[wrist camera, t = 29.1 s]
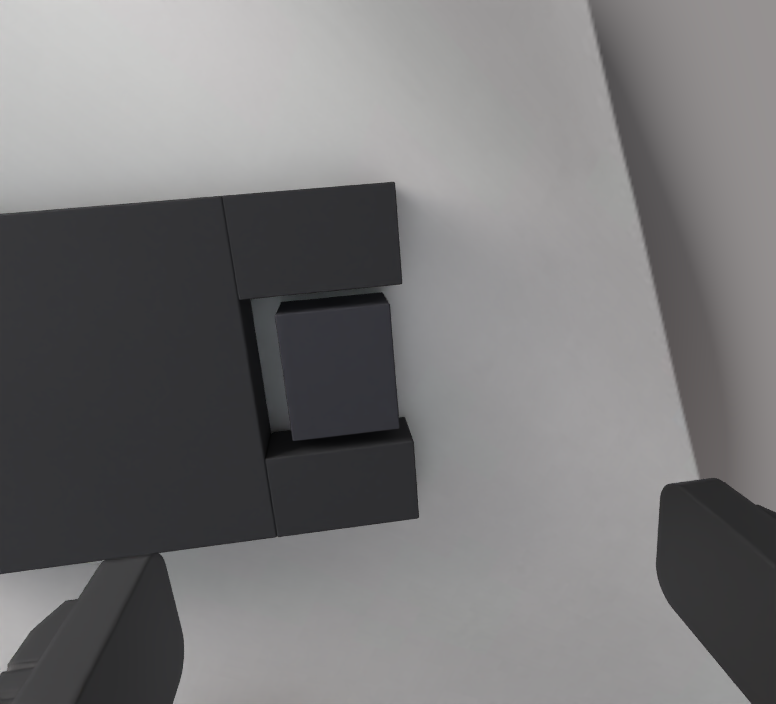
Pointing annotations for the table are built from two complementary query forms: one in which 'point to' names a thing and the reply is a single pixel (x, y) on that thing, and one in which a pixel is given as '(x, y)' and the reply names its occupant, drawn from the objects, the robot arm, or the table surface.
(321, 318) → the small black box
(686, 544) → the robot arm
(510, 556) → the table surface
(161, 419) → the big notched pad
